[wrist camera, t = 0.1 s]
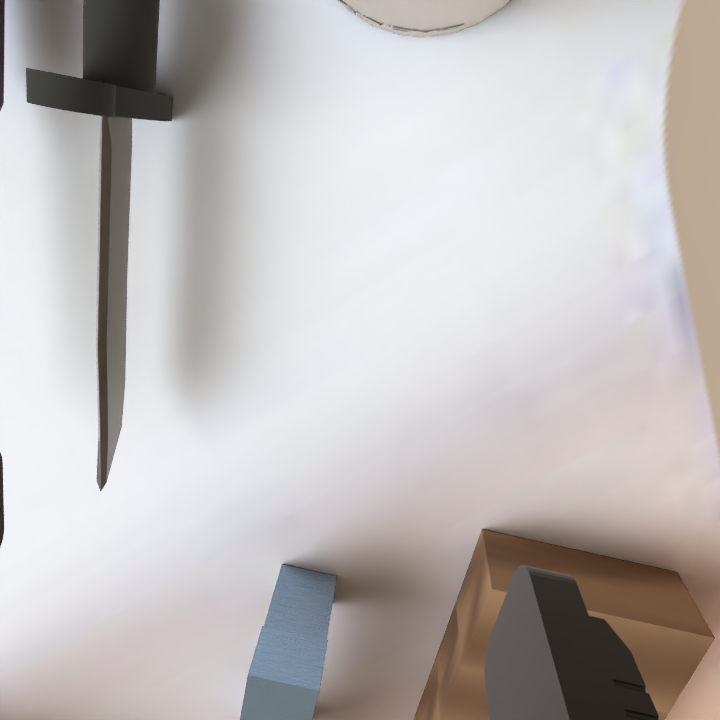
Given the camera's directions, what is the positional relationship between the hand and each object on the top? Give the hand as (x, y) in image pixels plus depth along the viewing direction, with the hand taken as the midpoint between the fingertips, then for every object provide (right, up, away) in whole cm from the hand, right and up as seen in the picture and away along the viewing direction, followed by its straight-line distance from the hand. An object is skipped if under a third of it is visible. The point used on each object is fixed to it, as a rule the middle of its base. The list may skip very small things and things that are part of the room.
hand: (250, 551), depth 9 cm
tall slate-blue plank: (-2, -14, +25) cm, 28 cm away
